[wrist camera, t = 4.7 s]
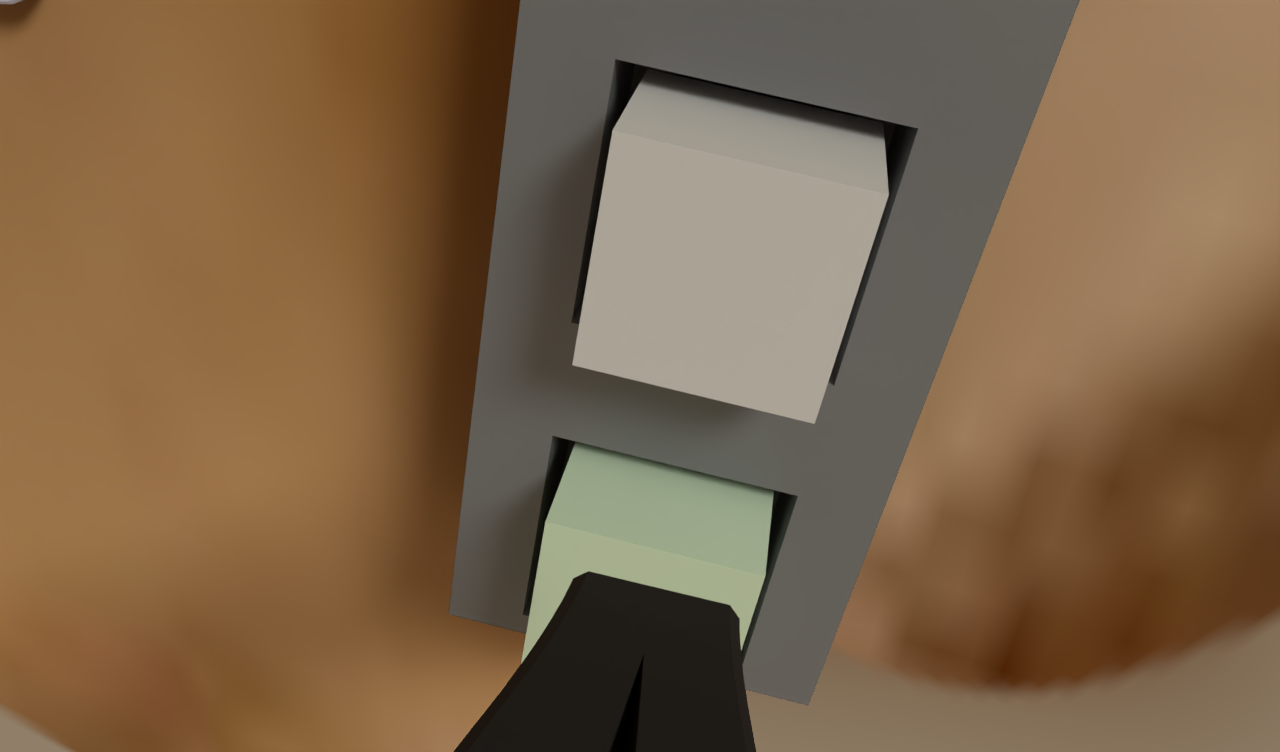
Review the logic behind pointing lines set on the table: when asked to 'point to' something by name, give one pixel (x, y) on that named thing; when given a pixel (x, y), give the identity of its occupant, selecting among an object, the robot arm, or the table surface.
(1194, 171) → the table surface
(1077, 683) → the table surface
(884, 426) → the grey button panel
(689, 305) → the grey key
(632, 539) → the green key
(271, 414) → the table surface
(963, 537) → the table surface
